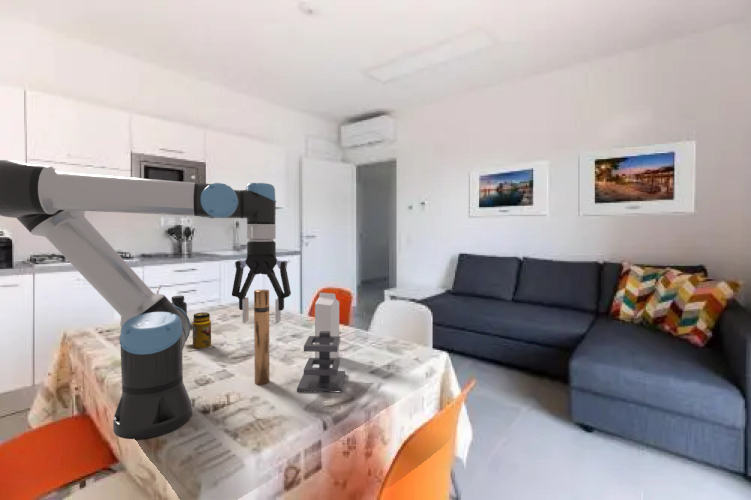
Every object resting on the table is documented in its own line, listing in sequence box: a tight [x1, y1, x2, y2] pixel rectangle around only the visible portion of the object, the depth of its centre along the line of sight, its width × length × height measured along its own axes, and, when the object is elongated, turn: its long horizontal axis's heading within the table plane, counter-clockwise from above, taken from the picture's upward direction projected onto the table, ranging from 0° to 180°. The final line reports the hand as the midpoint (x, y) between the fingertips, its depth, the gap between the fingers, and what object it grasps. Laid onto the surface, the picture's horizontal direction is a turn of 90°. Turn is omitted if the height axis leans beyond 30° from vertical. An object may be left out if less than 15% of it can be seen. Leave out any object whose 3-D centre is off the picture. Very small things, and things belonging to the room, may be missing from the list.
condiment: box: [184, 311, 214, 352], centre depth 133 cm, size 7×8×12 cm
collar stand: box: [296, 331, 346, 393], centre depth 104 cm, size 12×12×13 cm
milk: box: [314, 292, 340, 358], centre depth 123 cm, size 6×6×22 cm
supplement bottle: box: [171, 295, 188, 315], centre depth 162 cm, size 7×7×12 cm
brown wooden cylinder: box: [253, 289, 271, 386], centre depth 104 cm, size 4×4×26 cm
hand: (261, 321), depth 103 cm, fingers open, 8 cm apart
